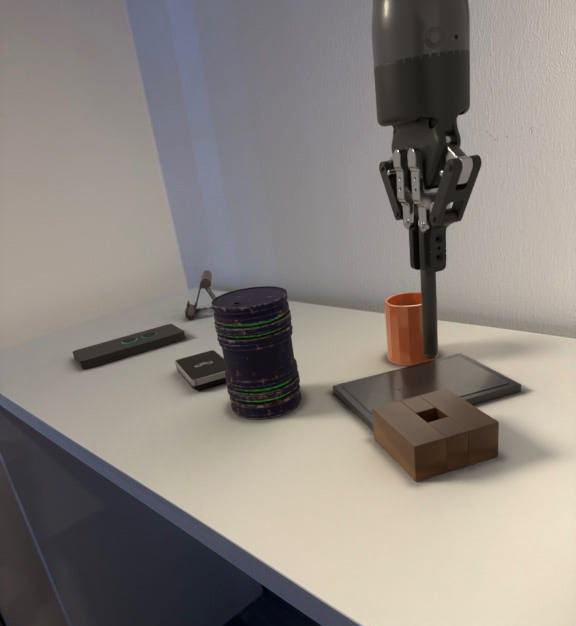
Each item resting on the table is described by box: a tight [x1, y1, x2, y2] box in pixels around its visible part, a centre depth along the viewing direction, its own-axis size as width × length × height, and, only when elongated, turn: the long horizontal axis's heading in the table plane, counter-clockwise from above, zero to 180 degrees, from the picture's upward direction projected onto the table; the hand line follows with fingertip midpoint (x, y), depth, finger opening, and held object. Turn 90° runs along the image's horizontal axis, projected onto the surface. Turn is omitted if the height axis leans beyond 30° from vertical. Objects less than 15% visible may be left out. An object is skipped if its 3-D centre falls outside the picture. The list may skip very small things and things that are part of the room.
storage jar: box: [210, 285, 302, 420], centre depth 71 cm, size 10×10×15 cm
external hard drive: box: [174, 349, 227, 391], centre depth 86 cm, size 7×11×2 cm, turn 25°
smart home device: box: [72, 323, 186, 370], centre depth 104 cm, size 8×2×20 cm
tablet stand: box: [184, 270, 217, 321], centre depth 119 cm, size 9×8×8 cm
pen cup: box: [383, 291, 439, 367], centre depth 80 cm, size 7×7×9 cm
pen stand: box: [372, 388, 500, 482], centre depth 57 cm, size 9×9×4 cm
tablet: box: [332, 352, 522, 433], centre depth 70 cm, size 20×13×1 cm, turn 107°
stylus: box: [418, 221, 439, 359], centre depth 51 cm, size 1×1×14 cm
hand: (427, 268), depth 50 cm, fingers closed on stylus, 1 cm apart
